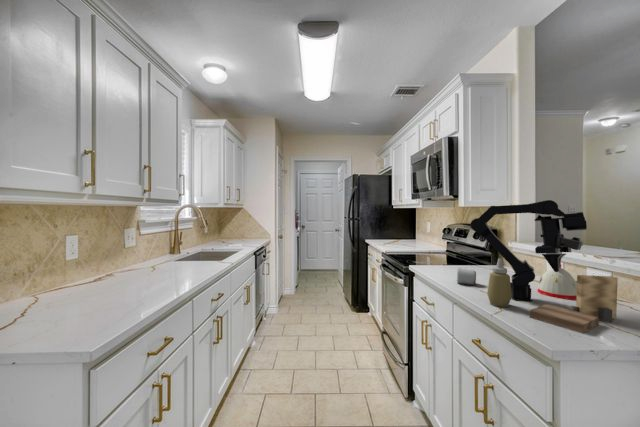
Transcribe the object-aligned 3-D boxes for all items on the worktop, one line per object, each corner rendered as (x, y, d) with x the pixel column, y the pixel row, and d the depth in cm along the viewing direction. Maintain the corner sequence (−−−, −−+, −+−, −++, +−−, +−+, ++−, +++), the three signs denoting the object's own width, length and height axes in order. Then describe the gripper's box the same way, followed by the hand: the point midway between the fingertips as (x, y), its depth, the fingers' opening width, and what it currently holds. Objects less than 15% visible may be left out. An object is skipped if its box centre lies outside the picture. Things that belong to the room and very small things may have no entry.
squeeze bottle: (512, 310, 104) (513, 261, 103) (486, 305, 108) (487, 259, 107) (511, 303, 111) (512, 258, 110) (487, 300, 115) (488, 256, 114)
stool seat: (582, 333, 85) (583, 325, 85) (529, 317, 97) (529, 310, 97) (598, 324, 91) (598, 317, 91) (546, 310, 103) (547, 303, 103)
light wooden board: (572, 316, 97) (574, 276, 97) (568, 314, 99) (569, 274, 99) (616, 318, 96) (617, 277, 95) (611, 316, 98) (612, 276, 97)
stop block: (603, 321, 94) (604, 309, 94) (598, 319, 96) (599, 307, 96) (612, 321, 94) (612, 310, 93) (606, 319, 95) (607, 307, 95)
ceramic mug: (476, 286, 134) (476, 270, 134) (457, 284, 137) (457, 269, 137) (474, 281, 144) (474, 266, 143) (456, 280, 147) (456, 265, 147)
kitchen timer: (534, 293, 124) (535, 260, 124) (541, 287, 133) (542, 256, 133) (576, 301, 114) (577, 265, 113) (581, 294, 123) (582, 260, 122)
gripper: (569, 229, 99) (576, 274, 97) (585, 230, 109) (591, 271, 107) (532, 231, 108) (537, 273, 106) (550, 232, 118) (555, 270, 116)
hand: (556, 271), depth 108 cm, fingers closed
